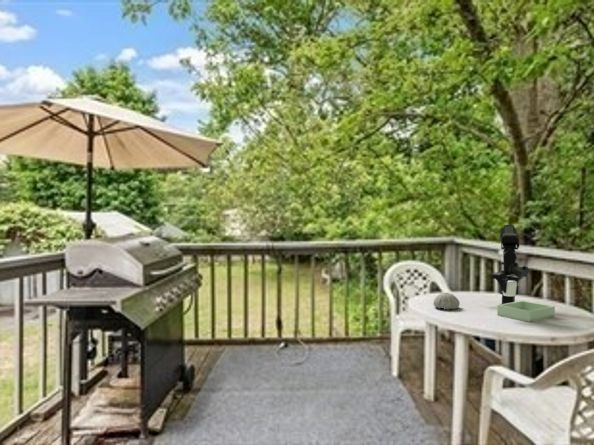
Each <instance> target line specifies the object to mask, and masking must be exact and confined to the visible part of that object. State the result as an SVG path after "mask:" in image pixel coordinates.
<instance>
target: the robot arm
mask: <svg viewBox="0 0 594 445" xmlns="http://www.w3.org/2000/svg"><path fill="white" fill-rule="evenodd" d="M499 239H500V244H501V245H500V246H501V247H500V248H501V250H502V251H503V254H502V255H503V256H502V257H503V258H502V262H501V263H500V264H501V265H502V267H503V269H502V270H501V272H499V271H497V272H492V274H491V279H493V280H496V281H497V283H498V285H499V288H500V289H499V295H502V296H501V303H500V304H499V305H501V304H506V303H512V302H516V296H517V295H519V283H520V281H521V280H523V279H524V278H526V277H528V274H529V267H528V266H526V265H523V266H519V263H518V262H517V254H516V253H517V252H516V250H519V248H520V239H519V236H518V230H517V228H515V226H514V225H513V224H504V225H503V227H502V228H501V229H499ZM509 280H513V281H517V286H516V296H504V295H503V292H504V293H506V289H507V282H508V281H509Z"/></svg>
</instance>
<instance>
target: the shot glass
mask: <svg viewBox="0 0 594 445" xmlns="http://www.w3.org/2000/svg"><path fill="white" fill-rule="evenodd" d="M516 286H517V281H513V280H509V281H508V282H507V289H506V293H504V292H503V291H502V292H503V295H504V296H515V297H516V296H517V295H516Z"/></svg>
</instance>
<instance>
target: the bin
mask: <svg viewBox="0 0 594 445" xmlns="http://www.w3.org/2000/svg"><path fill="white" fill-rule="evenodd" d="M500 304H501V305H500ZM500 304H497V309H496V310H497V313H496V315H497V316H499V317H504V318H508V319H509V318H510V319H513V320H517V321H518V320H519V321H523V322H528V323H532V322H538V321H542V320H546V319H551V318H555V316H556V310H555V309H556V307H555V306H554V305H549V304H543V303H539V302H532V301H527V300H526V301H525V300H517V301H515V302H512V303H506V304H502V303H500Z"/></svg>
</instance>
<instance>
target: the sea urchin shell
mask: <svg viewBox="0 0 594 445" xmlns="http://www.w3.org/2000/svg"><path fill="white" fill-rule="evenodd" d="M460 305H461V304H460V300H459V299H458V298H457V296H456V295H454V294H453V293H449V292H442V293H439V294H438V295H436V297H435V298H434V299H433V306H434V308H436V307H438V308H437V309H440V308H445V309H444V310H456V309H458V308H459V307H460Z"/></svg>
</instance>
